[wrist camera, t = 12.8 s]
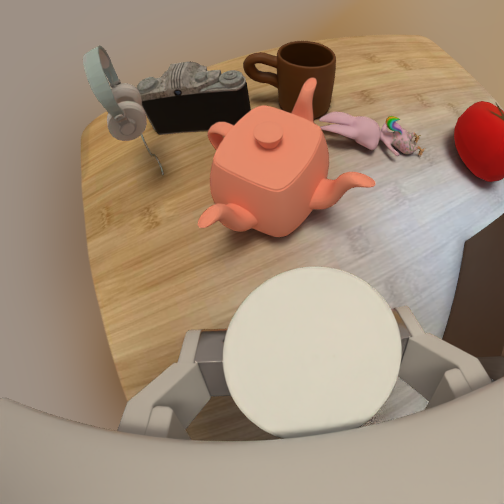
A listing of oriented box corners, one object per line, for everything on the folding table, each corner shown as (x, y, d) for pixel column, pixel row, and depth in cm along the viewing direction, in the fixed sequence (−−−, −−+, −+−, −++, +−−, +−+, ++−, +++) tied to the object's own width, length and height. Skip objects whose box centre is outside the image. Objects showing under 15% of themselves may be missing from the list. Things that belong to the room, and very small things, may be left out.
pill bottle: (355, 322, 14) (440, 291, 6) (319, 408, 12) (365, 478, 4) (270, 288, 15) (258, 218, 7) (232, 373, 13) (171, 406, 5)
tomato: (458, 189, 31) (498, 142, 20) (434, 127, 35) (460, 77, 24) (508, 195, 30) (547, 159, 19) (485, 138, 33) (513, 97, 23)
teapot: (309, 136, 35) (315, 72, 25) (350, 232, 31) (379, 180, 20) (201, 162, 35) (177, 101, 25) (223, 265, 31) (195, 225, 20)
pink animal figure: (408, 138, 36) (314, 115, 35) (427, 113, 30) (326, 84, 29) (417, 171, 34) (317, 150, 33) (439, 148, 28) (331, 118, 27)
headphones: (143, 155, 37) (75, 48, 18) (168, 143, 37) (110, 29, 18) (155, 199, 34) (67, 85, 16) (183, 186, 35) (111, 59, 16)
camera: (254, 99, 38) (247, 45, 29) (251, 130, 36) (242, 74, 27) (163, 106, 40) (142, 60, 31) (151, 136, 38) (125, 89, 29)
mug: (245, 119, 37) (236, 67, 28) (251, 87, 40) (244, 39, 31) (331, 123, 36) (340, 71, 27) (328, 90, 38) (333, 42, 29)
